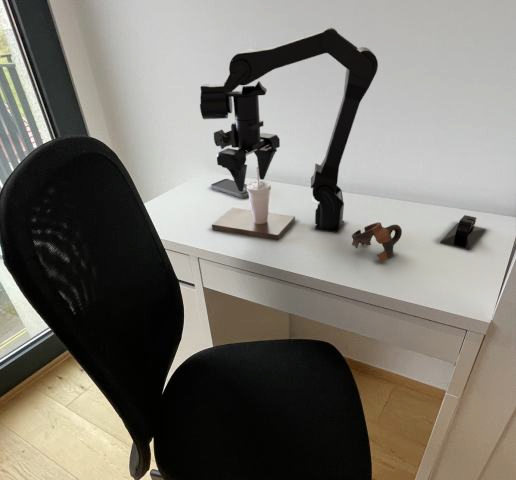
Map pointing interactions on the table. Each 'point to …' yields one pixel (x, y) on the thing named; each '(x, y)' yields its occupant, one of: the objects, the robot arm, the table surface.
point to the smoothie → (259, 199)
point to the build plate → (463, 233)
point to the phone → (230, 188)
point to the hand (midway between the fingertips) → (251, 185)
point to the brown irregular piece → (378, 238)
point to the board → (253, 224)
